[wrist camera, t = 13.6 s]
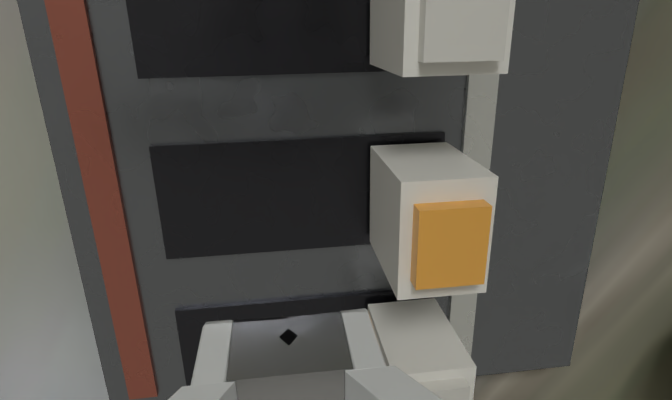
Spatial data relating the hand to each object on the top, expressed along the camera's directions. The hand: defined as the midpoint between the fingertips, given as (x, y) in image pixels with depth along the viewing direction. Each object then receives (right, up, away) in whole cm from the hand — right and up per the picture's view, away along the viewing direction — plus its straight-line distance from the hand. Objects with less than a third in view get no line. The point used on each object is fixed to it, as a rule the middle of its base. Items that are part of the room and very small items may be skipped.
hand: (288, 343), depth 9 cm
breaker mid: (+4, +3, +10) cm, 11 cm away
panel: (+1, +4, +12) cm, 12 cm away
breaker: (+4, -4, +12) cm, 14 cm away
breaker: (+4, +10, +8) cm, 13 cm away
